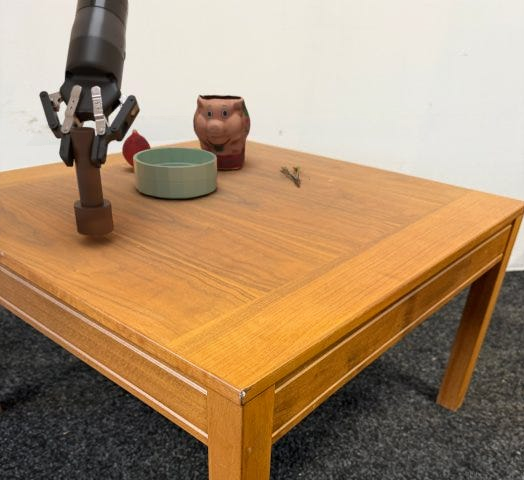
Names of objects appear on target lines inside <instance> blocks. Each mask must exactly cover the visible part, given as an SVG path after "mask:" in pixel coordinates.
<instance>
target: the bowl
mask: <svg viewBox="0 0 524 480" xmlns="http://www.w3.org/2000/svg"><path fill="white" fill-rule="evenodd" d="M133 162H134V167H133V172H134V183H135V184H134V185H135V188H136V189H137V191H138V192H139V193H143V194H145V195H147V196H152V197H155V198H160V199H170V200H178V199H179V200H180V199H192V198H197V197H201V196H205V195H208V194H210V193H213V192H214V191H216V189H217V188H218V169H217V157H216V155H215V154H213V153H212V152H209V151H206V150H202V149H201V148H196V147H195V148H194V147H186V146H185V147H183V146H167V147H155V148H151V149H148V150H144V151H141V152H138V153H136V154H135V155H134V157H133Z"/></svg>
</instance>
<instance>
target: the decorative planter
mask: <svg viewBox="0 0 524 480" xmlns="http://www.w3.org/2000/svg"><path fill="white" fill-rule="evenodd" d="M196 105H197V106H196V110H195V112H194V115H193V118H192V119H193V120H192V126H193V132H194V134H195V135H196V137H197V139H198V141H199V145H200V146H199V147H200V149H202V150H206V151H209V152H212V153H213V154H215V155H216V157H217V170H237V169H241V168H243V166H244V164H245V158H246V143H247V138H248V136H249V134H250V131H251V117H250V114H249V111H248V108H247V106H246V103H245V99H244V98H243V96H240V95H230V94H228V95H227V94H226V95H225V94H224V95H223V94H222V95H221V94H204V95H202V94H198V96H197V100H196Z"/></svg>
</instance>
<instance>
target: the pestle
mask: <svg viewBox="0 0 524 480" xmlns="http://www.w3.org/2000/svg"><path fill="white" fill-rule="evenodd" d="M70 135H71V141H72V148H73V155H74V168H75V174H76V175H75V176H76V182H77V188H78V196H79V199H78V200H76V201H74V202H73V204H72V206H73V213H74V217H75V225H76V231H77V233H78V234H79V235H81V236H86V237H100V236H106V235H109V234H111V233H112V232H114V229H115V224H114V216H113V208H112V202H111V200H109V199H107V198H104V193H103V192H104V191H103V185H102V176H101V168H95V167H94V165H93V164H92V161H91V156H92V148H93V141H94V136H97V134H96V128H94V127H92V126H83V127H75V128H71V129H70Z"/></svg>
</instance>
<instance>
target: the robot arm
mask: <svg viewBox="0 0 524 480" xmlns="http://www.w3.org/2000/svg"><path fill="white" fill-rule="evenodd" d="M129 5H130V4H129V0H77V1H76V9H75V15H74V16H75V17H74V20H73V23H72V27H71V30H70V34H69V35H70V37H69V42H68V49H67V56H66V61H65V62H66V63H65V69H64V81H63V82H62V85H61V86H59V90H58V91H56V92H53V93H49V92H48V91H46V90H42V91H40V92H39V96H38V97H39V99H40V102H41V103H40V104H41V106H42V110H43V112H44V117H45V119H46V122H47V126H48V127H49V129H50V131H51V132H52V134H53V135H54V137H55V138H56V139H59V140H60V143H59V145H60V146H59V151H58V155H59V158H60V159H61V161H62V162H63V163H64V164H65V166H66V167H67V168H73V167H74V165H75V162H74V155H73V148H72V141H71V135H70V129H71V128H75V127H84V124H85V122H94V123H95V133H96V136H94V141H93V148H92V156H91V161H92V164H93V165H94V167H95V168H100V169H101V168H102V165H105V164H106V162H107V156H108V149H109V144H110V143H112V142H114V141H116V142H119V143H120V142H123V140H124V138H125V137H126V135H127V134H128V132H129V130H130V129H131V127H132V126H133V123H135V120H136V118H137V117H138V116H139V113H140V111H141V109H140V104H139V102H138V100H137V97H136V96H135V95H134V94H130V95H128V96H127V95H125V94H123V93H122V90H121V89H122V82H123V74H124V68H125V61H126V57H127V52H126V50H127V28H128V18H129V9H130V8H129V7H130V6H129ZM62 102H63V103H64V105H66V108H65V111H64V120H63V122H62V124H61V121H60V118H59V115H58V113H59V112H60V109H61V104H62ZM118 108H120V109H119V111H118V112H117V114H116V116H115V117H114V119H113V121H112V123H111V124H110V116H111V115H112V114H113V113H114V112H115V111H116V110H117V109H118Z"/></svg>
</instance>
